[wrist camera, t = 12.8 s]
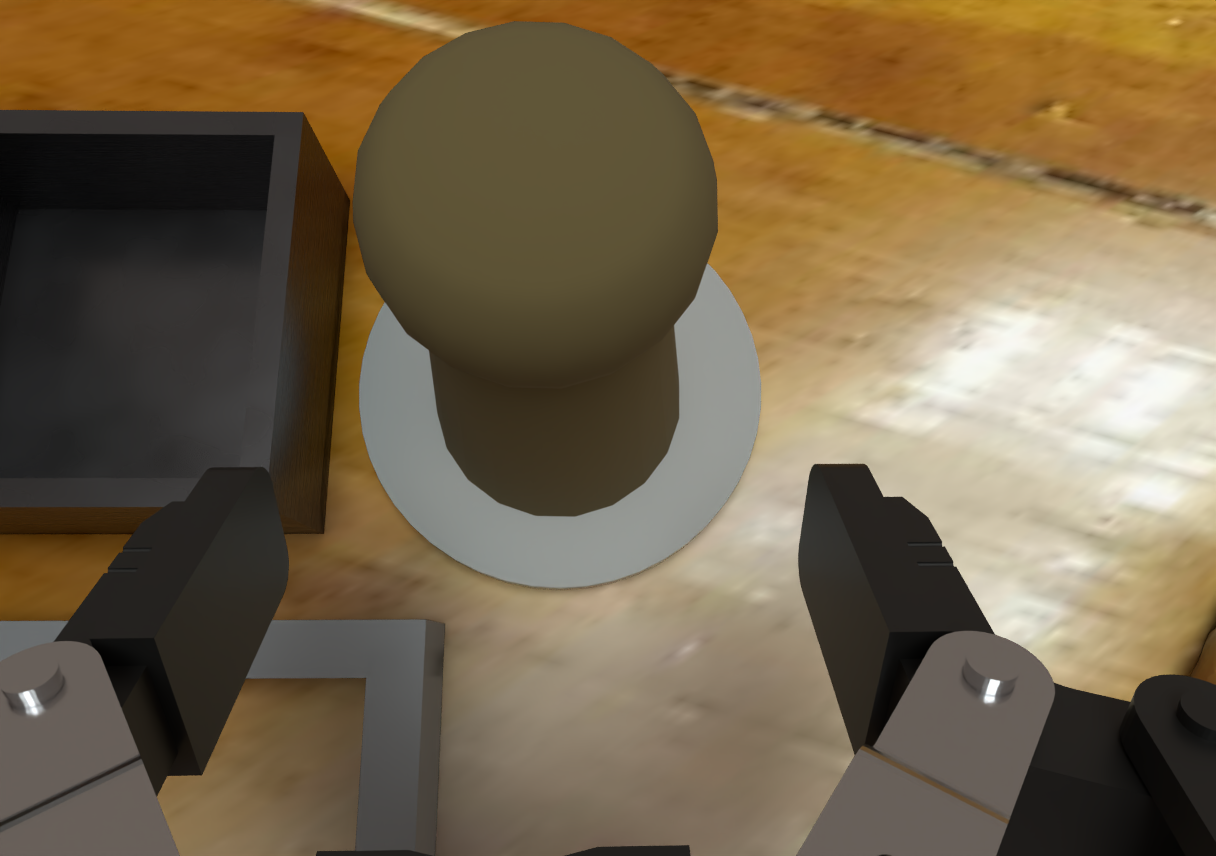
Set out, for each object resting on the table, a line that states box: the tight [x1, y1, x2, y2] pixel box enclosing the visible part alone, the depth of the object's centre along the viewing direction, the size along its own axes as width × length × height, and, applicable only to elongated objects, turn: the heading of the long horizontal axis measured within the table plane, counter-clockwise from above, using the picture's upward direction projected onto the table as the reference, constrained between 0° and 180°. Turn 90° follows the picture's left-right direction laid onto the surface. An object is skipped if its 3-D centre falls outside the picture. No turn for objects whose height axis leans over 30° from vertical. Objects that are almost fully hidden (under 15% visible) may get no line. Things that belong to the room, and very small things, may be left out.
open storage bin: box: [0, 110, 350, 534], centre depth 21 cm, size 9×9×4 cm
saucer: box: [359, 263, 761, 590], centre depth 22 cm, size 10×10×1 cm
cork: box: [353, 21, 718, 517], centre depth 16 cm, size 6×6×11 cm
